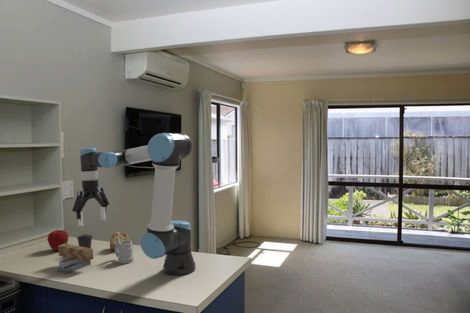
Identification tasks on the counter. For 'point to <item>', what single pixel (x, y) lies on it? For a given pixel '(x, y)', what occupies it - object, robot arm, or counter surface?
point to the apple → (57, 239)
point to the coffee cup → (85, 240)
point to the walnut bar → (75, 252)
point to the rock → (121, 236)
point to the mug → (124, 251)
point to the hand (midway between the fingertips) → (92, 222)
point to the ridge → (71, 265)
